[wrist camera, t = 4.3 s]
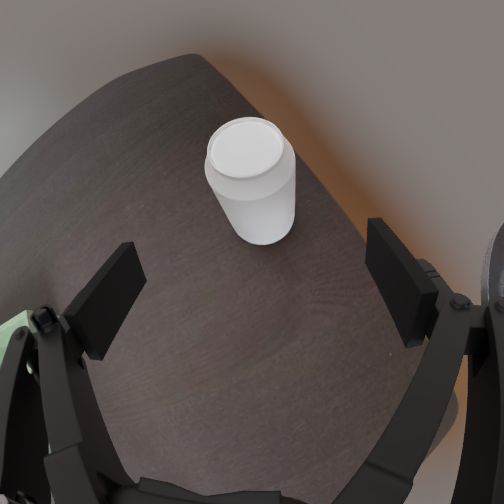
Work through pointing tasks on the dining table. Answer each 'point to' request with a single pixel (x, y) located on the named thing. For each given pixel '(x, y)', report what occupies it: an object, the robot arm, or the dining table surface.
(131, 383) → the dining table surface
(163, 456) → the dining table surface
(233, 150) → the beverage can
